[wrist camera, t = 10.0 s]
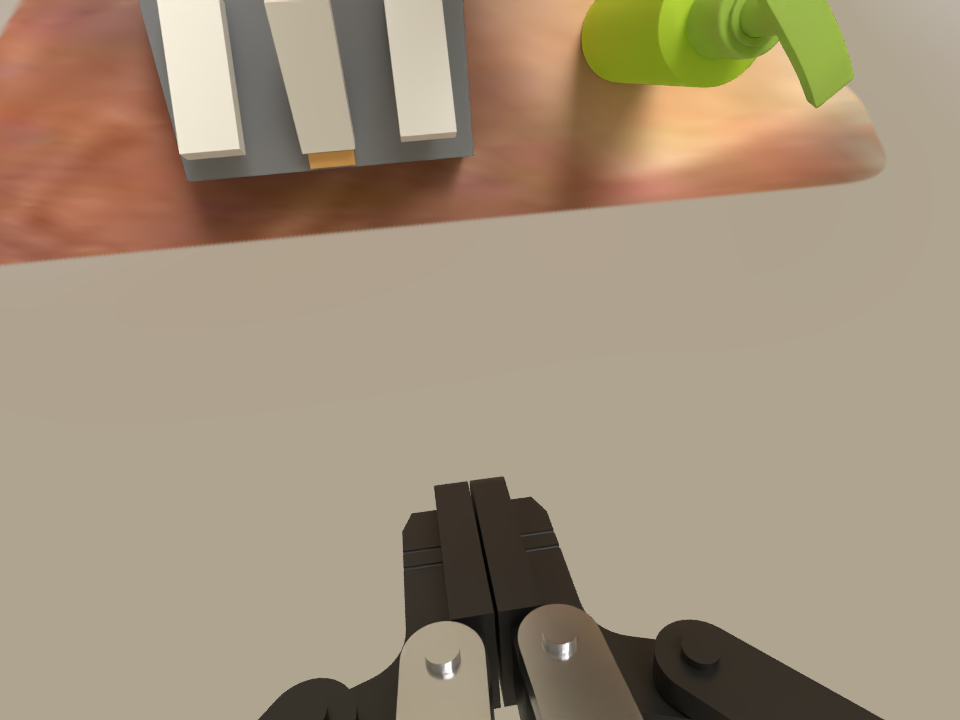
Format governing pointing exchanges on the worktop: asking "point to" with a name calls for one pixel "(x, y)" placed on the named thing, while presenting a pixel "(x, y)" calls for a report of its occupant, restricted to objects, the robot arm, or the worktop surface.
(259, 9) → the switch box
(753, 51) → the soap dispenser
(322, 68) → the block
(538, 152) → the worktop surface
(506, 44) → the worktop surface
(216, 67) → the block
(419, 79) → the block
